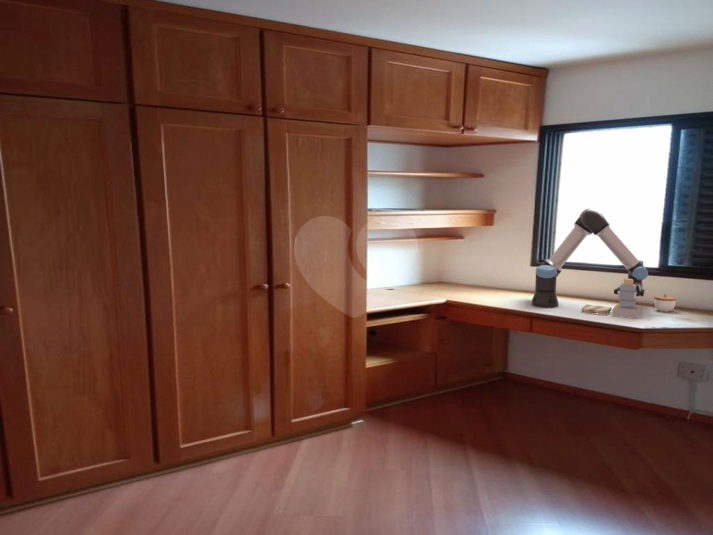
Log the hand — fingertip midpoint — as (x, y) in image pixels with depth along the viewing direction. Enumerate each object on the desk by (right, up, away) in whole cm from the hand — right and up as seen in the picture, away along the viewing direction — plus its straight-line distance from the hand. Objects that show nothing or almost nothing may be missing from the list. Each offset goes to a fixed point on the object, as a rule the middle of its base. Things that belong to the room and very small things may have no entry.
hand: (626, 294), depth 273 cm
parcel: (+3, +5, +3) cm, 7 cm away
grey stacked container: (+3, -6, +5) cm, 8 cm away
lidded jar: (+30, -10, +16) cm, 35 cm away
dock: (+3, -11, +6) cm, 13 cm away
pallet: (-10, -10, +13) cm, 19 cm away
